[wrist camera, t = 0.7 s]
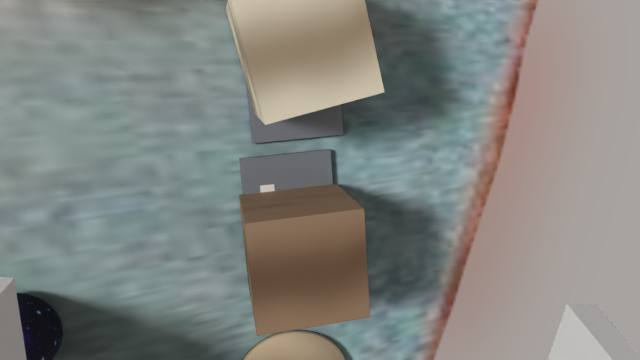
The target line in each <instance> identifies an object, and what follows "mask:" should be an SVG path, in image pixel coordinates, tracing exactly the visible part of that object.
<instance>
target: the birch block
mask: <svg viewBox="0 0 640 360" xmlns="http://www.w3.org/2000/svg"><path fill="white" fill-rule="evenodd" d="M226 11H227V15H228V18H229V22H230V26H231V29H232V33H233V36H234V40H235V44H236V47H237V51H238V54H239V58H240V61H241V65H242V69H243V72H244V76H245V79H246V83H247V87H248V90H249V94H250V97H251V101H252V105H253V108H254V112H255V115H256V116H257V117H258V118H259V119H260V120H261V121H262V122H263V123H264V124H265V125H267V124H271V123H274V122H278V121H282V120H285V119H289V118H293V117H296V116H300V115H303V114H307V113H311V112H314V111H318V110H322V109H325V108H329V107H333V106H336V105H340V104H344V103H347V102H351V101H355V100H358V99H362V98H366V97H369V96H373V95H377V94H380V93H384V87H383V83H382V78H381V73H380V69H379V64H378V59H377V54H376V50H375V45H374V40H373V36H372V31H371V26H370V22H369V17H368V12H367V7H366V3H365V0H228V2H227V7H226Z"/></svg>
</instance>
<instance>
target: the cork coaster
mask: <svg viewBox="0 0 640 360" xmlns="http://www.w3.org/2000/svg"><path fill="white" fill-rule="evenodd" d="M242 360H345V358H344V356H343V354H342V352H341V351H340V349H339V348H338V347H337V346H336V345H335V344H334V343H333V342H332V341H331V340H330V339H328V338H326V337H325V336H323V335H321V334H318V333H315V332H312V331H307V330H290V331H284V332H279V333H276V334H273V335H271V336H269V337H267V338H265V339H263V340H262V341H260V342H259V343H257V344H256V345H255V346H254V347H252V348H251V349H250V351H249V352H248V353H247V354H246V355H245V356H244V358H243V359H242Z"/></svg>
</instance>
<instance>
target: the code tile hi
mask: <svg viewBox="0 0 640 360" xmlns="http://www.w3.org/2000/svg"><path fill="white" fill-rule="evenodd" d="M246 84H247V83H246ZM247 94H248V104H249V114H250V124H251V134H252V143H263V142H273V141H283V140H293V139H303V138H313V137H323V136H334V135H343V120H342V104H340V105H336V106H333V107H329V108H325V109H322V110H318V111H314V112H311V113H307V114H303V115H300V116H296V117H293V118H289V119H285V120H282V121H278V122H274V123H271V124H267V125H265V124H264V123H263V122H262V121H261V120H260V119H259V118H258V117H257V116H256V115H255V112H254V108H253V105H252V101H251V97H250V94H249V90H248V87H247Z"/></svg>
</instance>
